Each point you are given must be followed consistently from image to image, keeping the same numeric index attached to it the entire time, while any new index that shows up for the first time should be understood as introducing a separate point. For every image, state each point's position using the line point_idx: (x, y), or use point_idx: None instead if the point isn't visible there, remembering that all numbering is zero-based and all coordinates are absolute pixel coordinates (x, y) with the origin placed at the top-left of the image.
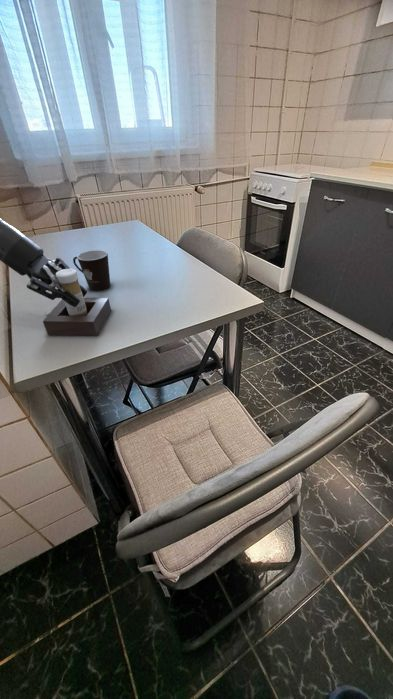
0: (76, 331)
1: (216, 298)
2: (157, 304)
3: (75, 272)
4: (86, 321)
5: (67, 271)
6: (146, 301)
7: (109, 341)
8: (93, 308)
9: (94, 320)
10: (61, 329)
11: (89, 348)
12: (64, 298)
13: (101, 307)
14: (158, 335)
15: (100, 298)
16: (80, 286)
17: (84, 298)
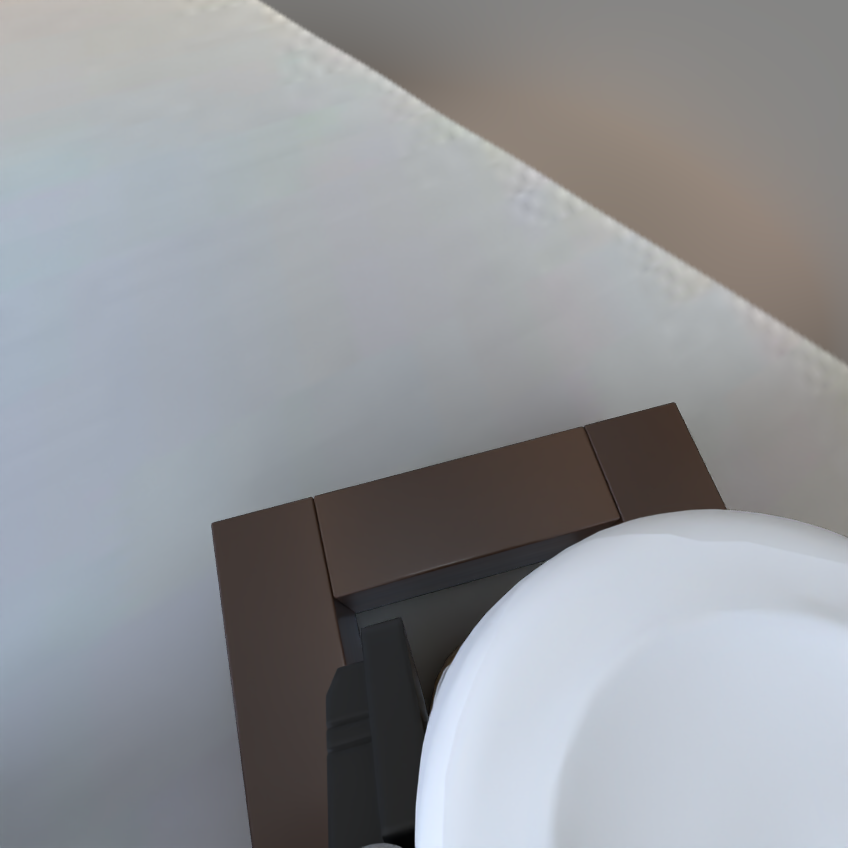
0: None
1: (8, 18)
2: (107, 272)
3: (631, 525)
4: (699, 459)
5: (731, 838)
6: (62, 360)
7: (641, 346)
8: (470, 538)
9: (646, 409)
10: None
11: (766, 422)
12: None
13: (425, 474)
14: (474, 140)
15: (246, 596)
16: (396, 707)
17: (279, 809)
